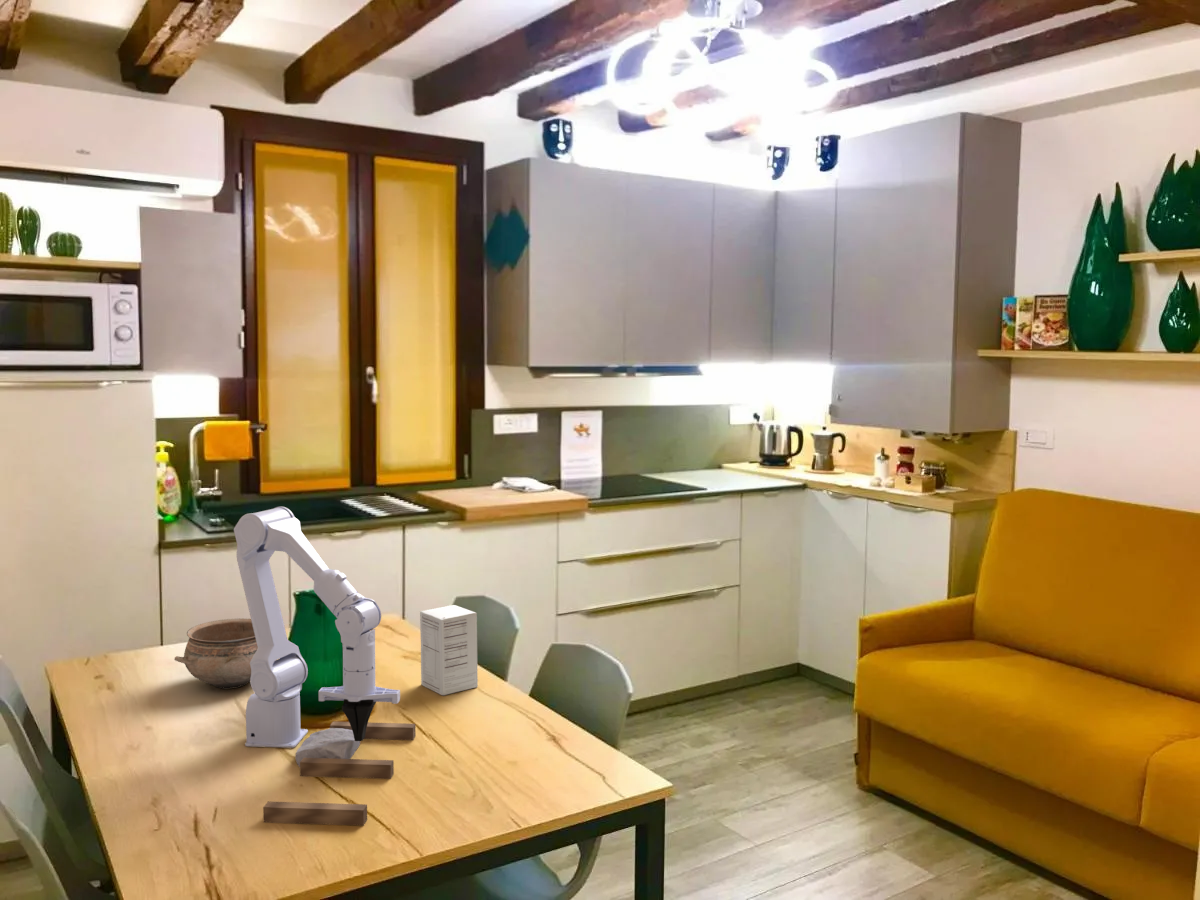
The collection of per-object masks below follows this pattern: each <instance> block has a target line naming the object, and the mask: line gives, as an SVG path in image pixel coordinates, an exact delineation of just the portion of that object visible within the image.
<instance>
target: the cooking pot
mask: <svg viewBox="0 0 1200 900" xmlns="http://www.w3.org/2000/svg"><path fill="white" fill-rule="evenodd" d="M186 636H187V637H188V641H187V643H186V646H185V650H184V652H183V656H178V655H177V656H175V657H174V661H175V662H178V663H181V664H184V665H185V667H186V669H187V671H188V672H189V674H191V676H193V677H194V678H196V679H197V680H198V681H200V682H204V683H206V684H209V685H211V686H213V687H216V688H219V689H225V690H227V689H235V688H240V687H243V686H245V685H247V684H248V683H250V678H251V666H250V661H251V659H252V658H253V656H254V654H255V653H256V651H257V649H258V646H257V642H256V638H255V633H254V629H253V625H252V621H251V618H227V619H226V618H225V619H219V620H218V619H217V620H212V621H207V622H204V623H200V624H198V625H195V626H192V627H191V628H189V629H188V630H187V632H186Z"/></svg>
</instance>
